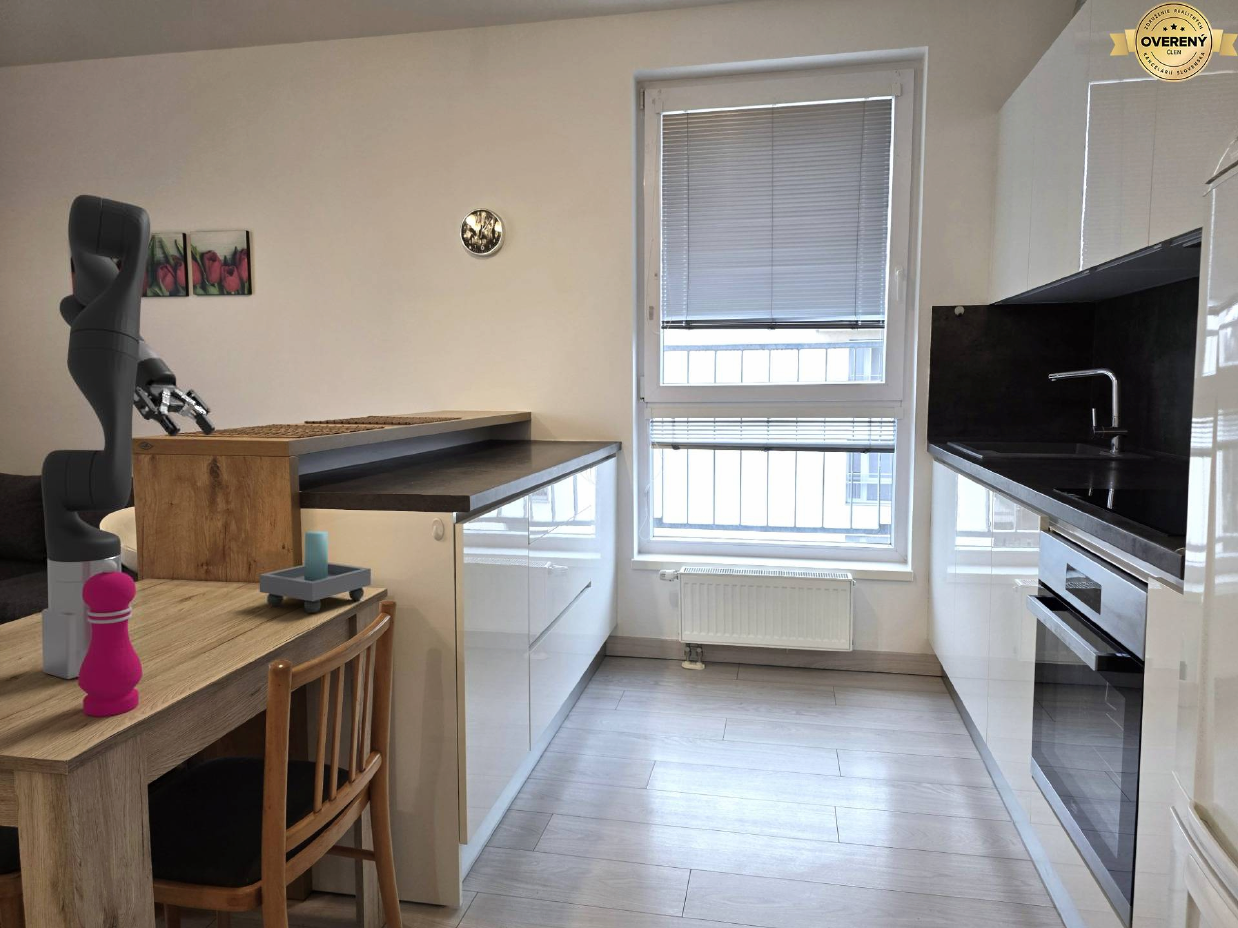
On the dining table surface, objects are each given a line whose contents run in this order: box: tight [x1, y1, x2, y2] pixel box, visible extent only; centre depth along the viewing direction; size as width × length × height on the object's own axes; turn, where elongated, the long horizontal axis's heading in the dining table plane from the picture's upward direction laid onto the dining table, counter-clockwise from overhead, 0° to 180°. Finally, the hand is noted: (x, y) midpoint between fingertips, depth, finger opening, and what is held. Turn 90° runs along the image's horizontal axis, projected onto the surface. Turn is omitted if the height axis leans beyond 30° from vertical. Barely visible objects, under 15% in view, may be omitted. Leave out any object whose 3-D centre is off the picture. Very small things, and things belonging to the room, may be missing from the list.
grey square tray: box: [259, 562, 372, 614], centre depth 163 cm, size 16×14×6 cm
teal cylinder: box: [304, 530, 329, 581], centre depth 162 cm, size 4×4×10 cm
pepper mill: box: [77, 560, 143, 717], centre depth 106 cm, size 7×7×20 cm
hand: (194, 432), depth 149 cm, fingers open, 8 cm apart
